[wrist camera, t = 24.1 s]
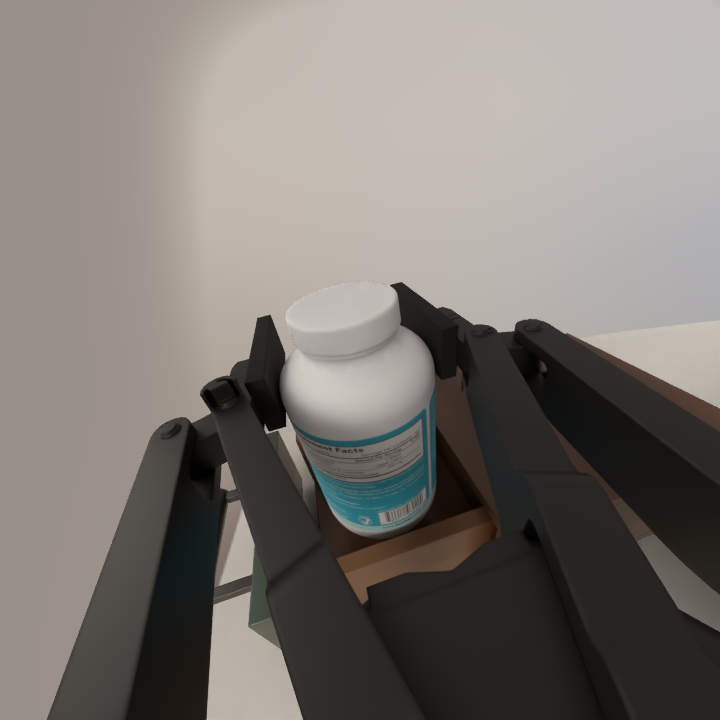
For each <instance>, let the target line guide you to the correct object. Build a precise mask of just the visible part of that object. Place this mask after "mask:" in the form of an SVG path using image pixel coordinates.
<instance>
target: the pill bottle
mask: <svg viewBox="0 0 720 720" xmlns="http://www.w3.org/2000/svg"><path fill="white" fill-rule="evenodd" d="M286 322H287V325H288V328H289V331H290V334H291V337H292V340H293V343H294V345H295V346H296V347H297V348H296V349H295V350H294V351H293V352H292V353H291V354H290V356H289V357H288V359H287V361H286V362H285V364H284V366H283V369H282V371H281V375H280V382H279V390H280V396H281V400H282V403H283V405H284V408H285V410H286V412H287V414H288V416H289V419H290V421H291V423H292V425H293V427H294V430H295V432H296V434H297V436H298V439H299V441H300V443H301V445H302V447H303V450H304V452H305V454H306V456H307V458H308V461H309V463H310V465H311V467H312V470H313V472H314V474H315V476H316V478H317V481H318V483H319V485H320V487H321V489H322V492H323V494H324V496H325V498H326V500H327V502H328V505H329V507H330V509H331V511H332V512H333V514H334V516H335V517H336V518H337V519H338V521H339V522H340V523H341V524H342V525H343V526H345V527H346V528H347V529H348V530H350V531H352V532H354V533H355V534H358V535H360V536H363V537H367V538H372V539H387V538H393V537H397V536H399V535H402V534H404V533H406V532H408V531H410V530H411V529H413V528H414V527H415V526H416V525H418V524H419V523H420V522H421V521H422V519H423V518H424V517H425V516H426V514H427V513H428V511H429V509H430V507H431V505H432V503H433V500H434V496H435V491H436V420H435V368H434V361H433V358H432V355H431V352H430V350H429V348H428V347H427V345H426V344H425V343H424V341H423V340H422V339H421V338H420V337H419V336H418V335H416V334H415V333H414V332H412V331H411V330H409V329H407V328H405V327H403V326H401V325H400V323H401V316H400V309H399V301H398V295H397V292H396V291H395V290H394V289H393V288H392V287H391V286H389V285H386V284H383V283H378V282H351V283H344V284H339V285H334V286H330V287H327V288H324V289H320V290H318V291H315V292H313V293H310V294H308V295H306V296H304V297H303V298H301V299H299V300H298V301H296V302H295V303H294V304H293V305H292V306H291V307H290V308H289V309H288V311H287V313H286Z"/></svg>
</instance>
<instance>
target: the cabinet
mask: <svg viewBox="0 0 720 720" xmlns="http://www.w3.org/2000/svg"><path fill="white" fill-rule="evenodd" d="M566 335H567V336H569V337H570V338H572V339H574V340H575V341H577V342H578V343H580V344H581V345H583V346H585V347H586V348H588V349H589V350H591V351H593V352H594V353H596V354H597V355H599V356H600V357H602V358H604V359H605V360H607V361H608V362H610V363H612V364H613V365H615V366H616V367H618V368H619V369H621V370H623V371H624V372H626V373H627V374H629V375H631V376H632V377H634V378H635V379H637V380H639V381H640V382H642V383H643V384H645V385H646V386H648V387H650V388H651V389H653V390H654V391H656V392H658V393H659V394H661V395H662V396H664V397H665V398H667V399H669V400H670V401H672V402H673V403H675V404H677V405H678V406H680V407H681V408H683V409H685V410H686V411H688V412H689V413H691V414H692V415H694V416H696V417H697V418H699V419H700V420H702V421H704V422H705V423H707V424H708V425H710V426H711V427H713V428H715V429H716V430H718V431H719V432H720V408H717V407H715V406H713V405H711V404H709V403H707V402H705V401H703V400H701V399H699V398H697V397H695V396H693V395H691V394H689V393H687V392H685V391H683V390H681V389H679V388H677V387H675V386H673V385H671V384H669V383H667V382H665V381H663V380H661V379H659V378H657V377H655V376H653V375H651V374H649V373H647V372H645V371H643V370H641V369H639V368H637V367H635V366H633V365H631V364H629V363H627V362H625V361H622V360H620V359H618V358H616V357H614V356H612V355H610V354H608V353H606V352H604V351H602V350H600V349H598V348H596V347H594V346H592V345H590V344H588V343H586V342H584V341H582V340H580V339H578V338H576V337H574V336H572V335H570V334H566ZM542 368H543V369H544V370H545V371H546V370H547V369H546V366H545V364H544V363H542ZM461 382H462V370H461V369H460V368H459V367H458V366H457V373H456V376H455V377H451V378H448V379H445V380H441V379H440V378H439V377H438V376H437V374H436V373H435V420H436V433H437V435H438V437H439V438H440V440H441V441H442V443H443V444H444V446H445V448H446V449H447V451H448V452H449V454H450V455H451V457H452V459H453V460H454V462H455V463H456V465H457V466H458V468H459V470H460V471H461V473H462V474H463V476H464V477H465V479H466V481H467V482H468V484H469V485H470V487H471V488H472V490H473V492H474V493H475V495H476V496H477V498H478V499H479V501H480V502H481V504H482V506H483V507H484V509H485V510H486V512H487V513H488V515H489V517H490V518H491V520H492V521H493V523H494V524H495V526H496V528H497V532H496V536H495V539H496V538H499V537H501V525H500V519H499V515H498V512H497V508H496V504H495V501H494V497H493V493H492V489H491V486H490V482H489V478H488V475H487V471H486V467H485V464H484V460H483V456H482V452H481V449H480V445H479V441H478V438H477V434H476V430H475V426H474V423H473V419H472V415H471V412H470V408H469V404H468V401H467V397H466V393H465V389H464V391H461ZM548 422H549V421H548ZM549 424H550V425H551V427H552V429H553V431H554V432H555V434H556V436H557V438H558V439H559V441H560V443H561V445H562V446H563V448H564V450H565V452H566V454H567V455H568V457H569V459H570V461H571V462H572V464H573V466H574V467H575V469H576V470H577V471H578V472H580V473H589V474H591V475H592V476H593V477H595V478H596V479H597V480H598V482H599V483H600V484H601V486H602V487H603V489H604V490H605V492H606V493H607V495H608V497H609V498H610V500H611V501H612V503H613V505H614V506H615V508H616V509H617V511H618V513H619V514H620V516H621V518H622V519H623V521H624V522H625V524H626V526H627V527H628V529H629V530H630V532H631V534H632V535H633V537H634V538H635V540H639V539H641V538H644V537H646V536H649V535H651V534H654V533H653V532H652V531H651V530H650V529H649V528H648V527H647V525H646V524H645V523H644V522H643V521H642V520H641V519H640V518H639V517H638V516H637V515H636V514H635V513H634V512H633V510H632V509H631V508H630V507H629V506H628V505H627V504H626V503H625V502H624V501H623V500H622V499H621V498H620V497H619V495H618V494H617V493H616V492H615V491H614V490H613V489H612V488H611V487H610V486H609V485H608V484H607V483H606V482H605V481H604V479H603V478H602V477H601V476H600V475H599V474H598V473H597V472H596V471H595V470H594V469H593V468H592V467H591V466H590V464H589V463H588V462H587V461H586V460H585V459H584V458H583V457H582V456H581V455H580V454H579V453H578V452H577V451H576V449H575V448H574V447H573V446H572V445H571V444H570V443H569V442H568V441H567V440H566V439H565V438H564V437H563V436H562V435H561V433H560V432H559V431H558V430H557V429H556V428H555V427H554V426H553V425H552V424H551V423H550V422H549Z"/></svg>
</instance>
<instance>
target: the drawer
mask: <svg viewBox="0 0 720 720" xmlns="http://www.w3.org/2000/svg"><path fill="white" fill-rule="evenodd" d="M267 436H268V438H269V440H270V441H271V443H272V445H273V447H274V449H275V450H276V452H277V454H278V456H279V458H280V459H281V461H282V463H283V465H284V467H285V468H286V470H287V472H288V474H289V476H290V477H291V479H292V481H293V483H294V484H295V486H296V488H297V490H298V492H299V493H300V495H301V497H302V499H303V488H302V478H301V476H300V474H299V472H298V470H297V468H296V466H295V464H294V462H293V460H292V458H291V456H290V454H289V452H288V450H287V448H286V446H285V444H284V442H283V440H282V438H281V435H280V433H279V431H275V432H272V433H269V434H267ZM296 442H297V445H298V447H299V449H300V451H301V453H302V456H303V458H304V460H305V462H306V465H307V467H308V469H309V471H310V474H311V476H312V478H313V480H314V483H315V493H316V502H317V511H318V520H319V529H320V531H321V533H322V535H323V537H324V538H325V540H326V542H327V543H328V545H329V547H330V549H331V550H332V552H333V554H334V556H335V557H336V559H337V561H338V563H339V565H340V566H341V568H342V570H343V572H344V574H345V575H346V577H347V579H348V581H349V583H350V584H351V586H352V588H353V590H354V592H355V593H356V595H357V597H358V599H359V601H360V602H361V604H363V603H364V602H365V601H367V600H368V595H367V590H366V587H368V586H371V585H374V584H376V583H379V582H382V581H384V580H387V579H390V578H392V577H395V576H398V575H400V574H403V573H406V572H432V571H450V570H452V569H454V568H455V567H457V566H458V565H459V564H460V563H461V562H463V561H464V560H465V559H466V558H467V557H468V556H470V555H471V554H472V553H473V552H474V551H476V550H477V549H478V548H479V547H480V546H481V545H483V544H484V543H486V542H488V541H491V540H494V539H495V536H496V532H497V528H496V526H495V524H494V523H493V521H492V520H491V518H490V517H489V515H488V513H487V512H486V510H485V509H484V507H483V506H482V504H481V502H480V501H479V499H478V498H477V496H476V495H475V493H474V492H473V490H472V488H471V487H470V485H469V484H468V482H467V481H466V479H465V477H464V476H463V474H462V473H461V471H460V470H459V468H458V466H457V465H456V463H455V462H454V460H453V459H452V457H451V455H450V454H449V452H448V451H447V449H446V448H445V446H444V444H443V443H442V441H441V440H440V438H439V437H438V435H437V433H436V491H435V496H434V500H433V503H432V505H431V507H430V509H429V511H428V513H427V514H426V516H425V517H424V518H423V519H422V521H421V522H420V523H419V524H418V525H416V526H415V527H414V528H413V529H411V530H410V531H408V532H406V533H404V534H402V535H399V536H397V537H393V538H387V539H372V538H367V537H363V536H360V535H358V534H355V533H354V532H352V531H350V530H348V529H347V528H346V527H345V526H343V525H342V524H341V523H340V522H339V521H338V519H337V518H336V517H335V516H334V514H333V512H332V511H331V509H330V507H329V505H328V502H327V500H326V498H325V496H324V494H323V492H322V489H321V487H320V485H319V483H318V481H317V478H316V476H315V474H314V472H313V470H312V467H311V465H310V463H309V461H308V458H307V456H306V454H305V452H304V450H303V447H302V445H301V443H300V441H299V439H298V436H297V434H296ZM237 500H240V498H239V495H238V492H237V489H235V490H231V491H227V490H225V489H220V498H219V515H218V532H217V549H216V566H215V574H216V568H217V563H218V557H219V552H220V546H221V541H222V535H223V529H224V523H225V518H226V512H227V507H228V503H231V502H234V501H237ZM266 588H267V580H266V577H265V573H264V570H263V567H262V564H261V561H260V558H259V555H258V552H257V549H256V546H255V548H254V561H253V573H252V575H250V576H247V577H244V578H241V579H238V580H236V581H233V582H230V583H227V584H224V585H221V586H218V587H216V588H214V599H213V605H214V604H217V603H219V602H222V601H225V600H228V599H231V598H233V597H236V596H239V595H242V594H245V593H247V592H250V591H251V599H250V611H249V624H248V627H249V628H251V629H252V630H254V631H255V632H257V633H258V634H259V635H261V636H262V637H264V638H265V639H267V640H268V641H270V642H271V643H273V644H274V645H276V646H277V647H279V648H280V649H281V647H280V643H279V640H278V637H277V634H276V631H275V627H274V624H273V621H272V618H271V615H270V611H269V608H268V604H267V600H266V593H265V590H266Z"/></svg>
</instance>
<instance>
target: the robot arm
mask: <svg viewBox="0 0 720 720" xmlns="http://www.w3.org/2000/svg"><path fill="white" fill-rule="evenodd" d="M390 286H391V287H392V288H393V289H394V290H395V291H396V292H397V295H398V301H399V309H400V316H401V323H400V325H401V326H403V327H405V328H407V329H409V330H411V331H412V332H414V333H415V334H416V335H418V336H419V337H420V338H421V339H422V340H423V341H424V343H425V344H426V345H427V347H428V348H429V350H430V352H431V355H432V358H433V361H434V368H435V373H436V374H437V376H438V377H439V378H440V379H441V380H445V379H448V378H451V377H455V376H456V373H457V366H458V367H459V368H460V369H461V370H462V382H461V391H464V389H465V393H466V397H467V401H468V404H469V408H470V412H471V415H472V419H473V423H474V426H475V430H476V434H477V438H478V441H479V445H480V449H481V452H482V456H483V460H484V464H485V467H486V471H487V475H488V478H489V482H490V486H491V489H492V493H493V497H494V501H495V504H496V508H497V512H498V515H499V519H500V525H501V537H499V538H496V539H494V540H491V541H488V542H486V543H484V544H483V545H481V546H480V547H479V548H478V549H477V550H476V551H474V552H473V553H472V554H471V555H470V556H468V557H467V558H466V559H465V560H464V561H463V562H461V563H460V564H459V565H458V566H457V567H455V568H454V569H452V570H450V571H432V572H406V573H403V574H400V575H398V576H395V577H392V578H390V579H387V580H384V581H382V582H379V583H376V584H374V585H371V586H368V587H366V590H367V595H368V600H367V601H365V602H364V603H363V604H361V602H360V601H359V599H358V597H357V595H356V593H355V592H354V590H353V588H352V586H351V584H350V583H349V581H348V579H347V577H346V575H345V574H344V572H343V570H342V568H341V566H340V565H339V563H338V561H337V559H336V557H335V556H334V554H333V552H332V550H331V549H330V547H329V545H328V543H327V542H326V540H325V538H324V537H323V535H322V533H321V531H320V529H319V528H318V526H317V524H316V522H315V520H314V519H313V517H312V515H311V513H310V511H309V510H308V508H307V506H306V504H305V502H304V501H303V499H302V497H301V495H300V493H299V492H298V490H297V488H296V486H295V484H294V483H293V481H292V479H291V477H290V476H289V474H288V472H287V470H286V468H285V467H284V465H283V463H282V461H281V459H280V458H279V456H278V454H277V452H276V450H275V449H274V447H273V445H272V443H271V441H270V440H269V438H268V436H267V434H266V432H265V431H264V426H265V425H266V427H267V429H268V430H269V431H273V430H276V429H280V428H283V427H286V410H285V408H284V405H283V403H282V400H281V396H280V390H279V382H280V375H281V371H282V369H283V366H284V364H285V352H284V349H283V346H282V344H281V341H280V338H279V336H278V333H277V331H276V328H275V326H274V323H273V320H272V318H271V315H268V316H264V317H260V318H257V323H256V328H255V333H254V338H253V343H252V348H251V353H250V357H249V359H248V360H244V361H240V362H237V363H236V364H235V366H234V367H233V368H232V370H231V373H230V376H223V377H220V378H217V379H215V380H213V381H211V382H209V383H208V384H207V385H205V386H204V387H203V389H202V390H201V393H200V396H201V397H202V399H203V400H204V402H205V403H206V405H207V406H208V408H209V409H210V411H211V414H209V415H207V416H206V417H204V418H202V419H200V420H198V421H196V422H193V423H191V422H190V421H189V420H188V419H187V418H182V417H180V418H176V419H173V420H170V421H168V422H166V423H164V424H163V425H161V426H160V427H159V428H158V429H157V430H156V431H155V432H154V433H153V435H152V437H151V438H150V441H149V443H148V446H147V449H146V451H145V454H144V457H143V460H142V462H141V465H140V468H139V471H138V473H137V476H136V479H135V482H134V484H133V487H132V489H131V492H130V495H129V498H128V500H127V503H126V506H125V509H124V511H123V514H122V517H121V519H120V522H119V525H118V528H117V530H116V533H115V536H114V538H113V541H112V544H111V547H110V550H109V552H108V555H107V558H106V560H105V563H104V566H103V569H102V571H101V574H100V576H99V579H98V582H97V585H96V587H95V590H94V593H93V595H92V598H91V601H90V604H89V607H88V609H87V612H86V615H85V618H84V620H83V623H82V626H81V628H80V631H79V634H78V637H77V639H76V642H75V645H74V647H73V650H72V653H71V655H70V658H69V661H68V663H67V666H66V669H65V672H64V674H63V677H62V680H61V683H60V685H59V688H58V691H57V693H56V696H55V699H54V702H53V705H52V707H51V710H50V713H49V715H48V718H47V720H206V718H207V701H208V684H209V667H210V650H211V633H212V616H213V599H214V583H215V566H216V549H217V532H218V515H219V498H220V481H221V465H222V464H224V463H225V462H228V465H229V468H230V471H231V474H232V477H233V479H234V483H235V485H236V489H237V492H238V495H239V498H240V501H241V504H242V507H243V510H244V513H245V516H246V519H247V522H248V525H249V528H250V531H251V534H252V537H253V540H254V543H255V546H256V549H257V552H258V555H259V558H260V561H261V564H262V567H263V570H264V573H265V577H266V580H267V588H266V590H265V593H266V600H267V604H268V608H269V611H270V615H271V618H272V621H273V624H274V627H275V631H276V634H277V637H278V640H279V643H280V647H281V650H282V653H283V656H284V659H285V663H286V666H287V669H288V672H289V675H290V679H291V682H292V685H293V688H294V691H295V695H296V698H297V701H298V704H299V707H300V711H301V714H302V717H303V720H720V632H719V631H717V630H715V629H713V628H711V627H710V626H708V625H706V624H704V623H702V622H701V621H699V620H697V619H695V618H693V617H692V616H690V615H688V614H686V613H684V612H683V611H681V610H679V609H678V608H677V606H676V604H675V603H674V601H673V600H672V598H671V596H670V595H669V593H668V592H667V590H666V588H665V587H664V585H663V584H662V582H661V580H660V579H659V577H658V575H657V574H656V572H655V571H654V569H653V567H652V566H651V564H650V563H649V561H648V559H647V558H646V556H645V555H644V553H643V551H642V550H641V548H640V547H639V545H638V543H637V542H636V540H635V538H634V537H633V535H632V534H631V532H630V530H629V529H628V527H627V526H626V524H625V522H624V521H623V519H622V518H621V516H620V514H619V513H618V511H617V509H616V508H615V506H614V505H613V503H612V501H611V500H610V498H609V497H608V495H607V493H606V492H605V490H604V489H603V487H602V486H601V484H600V483H599V482H598V480H597V479H596V478H595V477H593V476H592V475H591V474H589V473H580V472H578V471H577V470H576V469H575V467H574V466H573V464H572V462H571V461H570V459H569V457H568V455H567V454H566V452H565V450H564V448H563V446H562V445H561V443H560V441H559V439H558V438H557V436H556V434H555V432H554V431H553V429H552V427H551V425H550V424H549V422H550V423H551V424H552V425H553V426H554V427H555V428H556V429H557V430H558V431H559V432H560V433H561V435H562V436H563V437H564V438H565V439H566V440H567V441H568V442H569V443H570V444H571V445H572V446H573V447H574V448H575V449H576V451H577V452H578V453H579V454H580V455H581V456H582V457H583V458H584V459H585V460H586V461H587V462H588V463H589V464H590V466H591V467H592V468H593V469H594V470H595V471H596V472H597V473H598V474H599V475H600V476H601V477H602V478H603V479H604V481H605V482H606V483H607V484H608V485H609V486H610V487H611V488H612V489H613V490H614V491H615V492H616V493H617V494H618V495H619V497H620V498H621V499H622V500H623V501H624V502H625V503H626V504H627V505H628V506H629V507H630V508H631V509H632V510H633V512H634V513H635V514H636V515H637V516H638V517H639V518H640V519H641V520H642V521H643V522H644V523H645V524H646V525H647V527H648V528H649V529H650V530H651V531H652V532H653V533H654V534H655V535H656V536H657V537H658V538H659V539H660V540H661V541H662V542H663V543H664V544H665V545H666V546H667V547H668V548H669V549H670V550H671V551H672V552H673V553H674V554H675V555H676V556H677V557H678V558H679V559H680V560H681V561H682V562H683V563H684V564H685V565H686V566H687V567H688V568H690V569H691V570H692V571H693V572H694V573H695V574H696V575H697V576H698V577H700V578H701V579H702V580H703V581H704V582H705V583H706V584H707V585H709V586H710V587H711V588H712V589H713V590H715V591H716V592H717V593H718V594H720V432H719V431H718V430H716V429H715V428H713V427H711V426H710V425H708V424H707V423H705V422H704V421H702V420H700V419H699V418H697V417H696V416H694V415H692V414H691V413H689V412H688V411H686V410H685V409H683V408H681V407H680V406H678V405H677V404H675V403H673V402H672V401H670V400H669V399H667V398H665V397H664V396H662V395H661V394H659V393H658V392H656V391H654V390H653V389H651V388H650V387H648V386H646V385H645V384H643V383H642V382H640V381H639V380H637V379H635V378H634V377H632V376H631V375H629V374H627V373H626V372H624V371H623V370H621V369H619V368H618V367H616V366H615V365H613V364H612V363H610V362H608V361H607V360H605V359H604V358H602V357H600V356H599V355H597V354H596V353H594V352H593V351H591V350H589V349H588V348H586V347H585V346H583V345H581V344H580V343H578V342H577V341H575V340H574V339H572V338H570V337H569V336H567V335H566V334H564V333H562V332H560V331H559V330H557V329H556V328H554V327H553V326H551V325H550V324H548V323H546V322H544V321H540V320H537V319H528V320H522V321H519V322H517V323H516V325H515V331H512V332H501V333H498V332H497V330H496V329H495V328H493V327H491V326H488V325H473V324H471V323H470V322H469V321H467V320H466V319H464V318H463V317H461V316H460V315H458V314H457V313H455V312H454V311H453V310H451V309H448V308H444V307H441V308H438V309H437V308H435V307H434V306H433V305H431V304H430V303H429V302H427V301H426V300H425V299H423V298H422V297H421V296H419V295H418V294H417V293H415V292H414V291H413V290H411V289H410V288H409V287H407V286H406V285H405V284H403V283H402V282H401V283H396V284H392V285H390ZM542 363H544V364H545V366H546V369H547V370H546V371H545V370H544V369H543V368H542ZM548 421H549V422H548Z"/></svg>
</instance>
